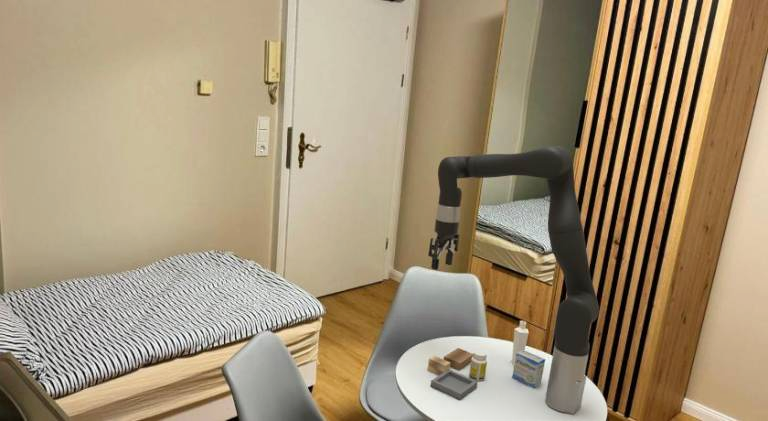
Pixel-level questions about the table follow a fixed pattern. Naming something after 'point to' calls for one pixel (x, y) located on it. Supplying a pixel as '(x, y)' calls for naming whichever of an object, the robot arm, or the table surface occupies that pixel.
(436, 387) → the tray
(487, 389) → the table surface
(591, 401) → the table surface
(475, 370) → the supplement bottle
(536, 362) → the medicine box
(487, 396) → the table surface
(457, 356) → the flat cardboard carton
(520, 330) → the white plastic bottle
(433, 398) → the table surface
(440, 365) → the tan rectangular block
